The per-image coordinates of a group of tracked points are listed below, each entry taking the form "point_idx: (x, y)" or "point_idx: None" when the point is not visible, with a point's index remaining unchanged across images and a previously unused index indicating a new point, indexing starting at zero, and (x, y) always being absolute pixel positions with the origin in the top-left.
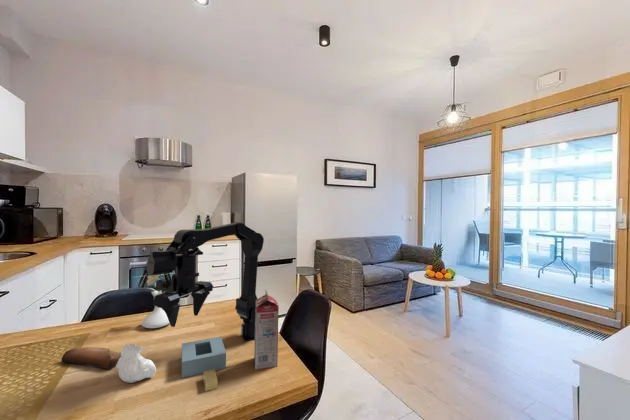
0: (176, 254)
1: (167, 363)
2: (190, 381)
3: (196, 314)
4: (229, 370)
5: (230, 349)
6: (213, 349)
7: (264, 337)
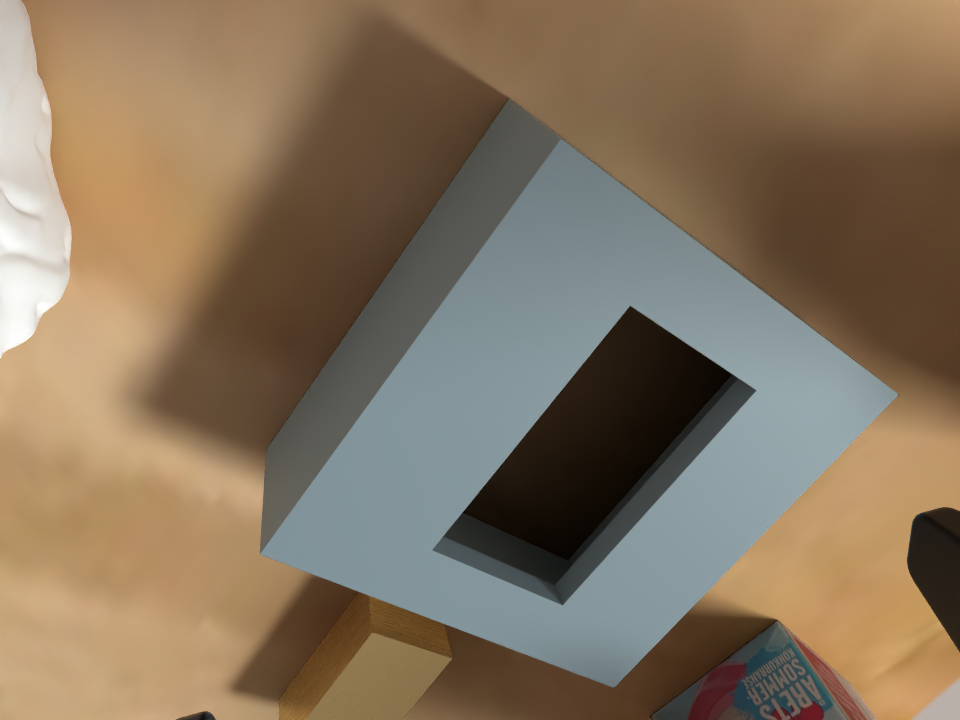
0: None
1: (331, 70)
2: None
3: (928, 589)
4: None
5: None
6: (617, 565)
7: None
